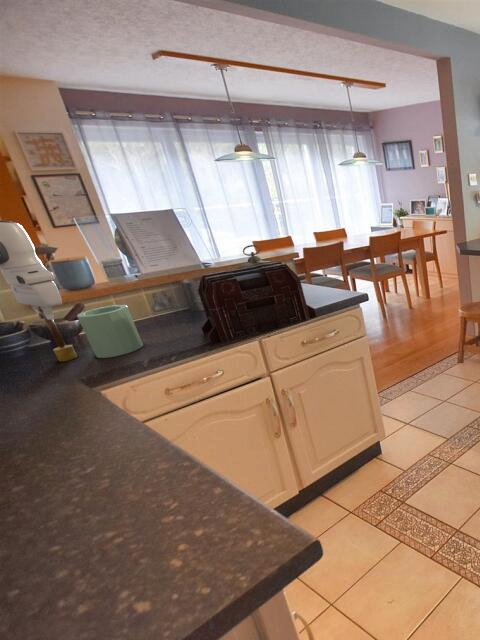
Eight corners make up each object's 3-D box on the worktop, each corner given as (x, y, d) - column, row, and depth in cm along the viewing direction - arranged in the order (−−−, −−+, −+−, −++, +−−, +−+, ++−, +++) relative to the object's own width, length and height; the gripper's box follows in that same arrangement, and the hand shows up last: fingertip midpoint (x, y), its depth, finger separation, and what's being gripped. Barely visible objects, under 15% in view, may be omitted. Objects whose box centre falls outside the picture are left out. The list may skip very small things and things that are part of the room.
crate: (301, 308, 178) (288, 257, 170) (319, 317, 165) (305, 262, 157) (202, 333, 156) (181, 276, 148) (212, 345, 143) (191, 284, 135)
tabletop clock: (255, 309, 181) (237, 249, 172) (244, 306, 186) (225, 248, 177) (287, 299, 192) (272, 242, 183) (276, 297, 197) (260, 241, 188)
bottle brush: (62, 362, 138) (35, 307, 131) (56, 360, 140) (28, 306, 133) (80, 356, 142) (54, 303, 135) (73, 355, 144) (47, 302, 137)
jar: (108, 359, 138) (89, 318, 132) (88, 355, 142) (69, 315, 137) (150, 345, 148) (134, 306, 142) (130, 341, 153) (114, 303, 147)
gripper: (-4, 276, 132) (18, 319, 137) (27, 279, 124) (50, 324, 129) (24, 271, 137) (44, 312, 142) (55, 273, 129) (76, 317, 134)
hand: (47, 318), depth 136 cm, fingers closed
